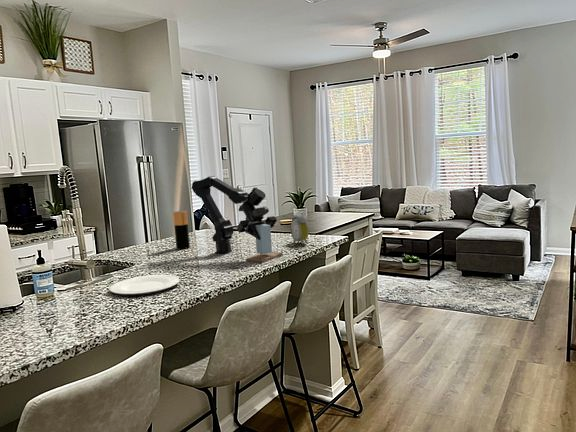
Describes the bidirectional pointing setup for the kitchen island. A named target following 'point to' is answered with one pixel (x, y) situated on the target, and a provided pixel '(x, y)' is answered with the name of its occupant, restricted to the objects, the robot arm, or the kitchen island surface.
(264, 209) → the robot arm
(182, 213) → the battery
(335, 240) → the kitchen island surface
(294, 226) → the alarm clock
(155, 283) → the plate
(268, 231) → the slate-blue post
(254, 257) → the tan flat board
